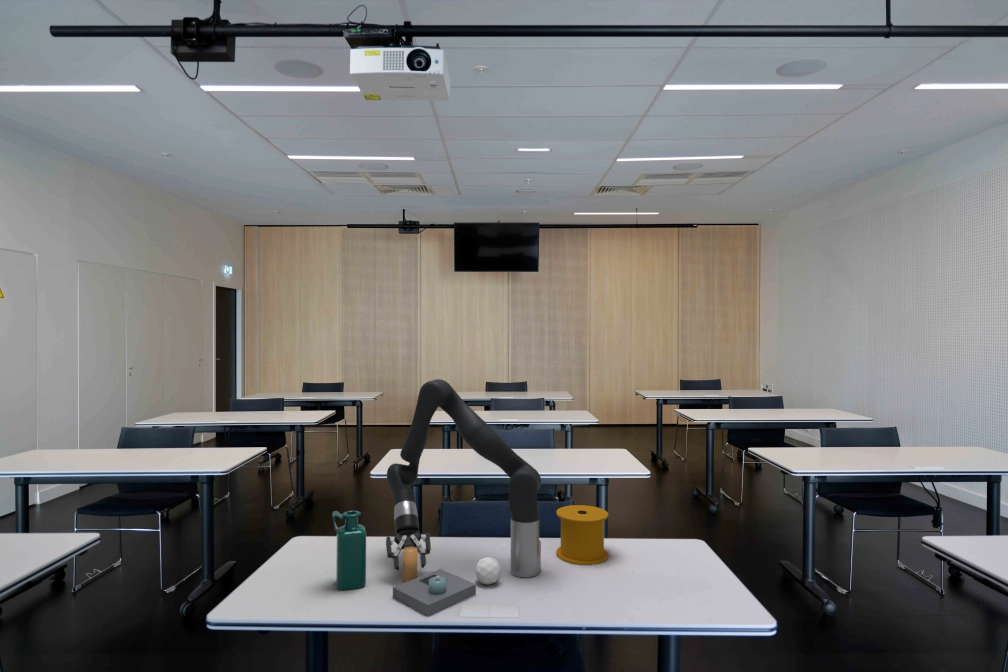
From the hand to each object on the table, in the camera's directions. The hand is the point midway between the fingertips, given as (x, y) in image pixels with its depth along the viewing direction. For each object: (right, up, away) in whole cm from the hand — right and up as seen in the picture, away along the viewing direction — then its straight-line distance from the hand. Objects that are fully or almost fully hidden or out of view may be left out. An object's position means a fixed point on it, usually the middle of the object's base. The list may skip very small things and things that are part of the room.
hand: (410, 568), depth 169 cm
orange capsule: (0, -5, +1) cm, 5 cm away
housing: (+8, -5, -8) cm, 13 cm away
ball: (+24, -5, +1) cm, 24 cm away
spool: (+56, -6, +24) cm, 61 cm away
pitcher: (-19, -5, -1) cm, 19 cm away
